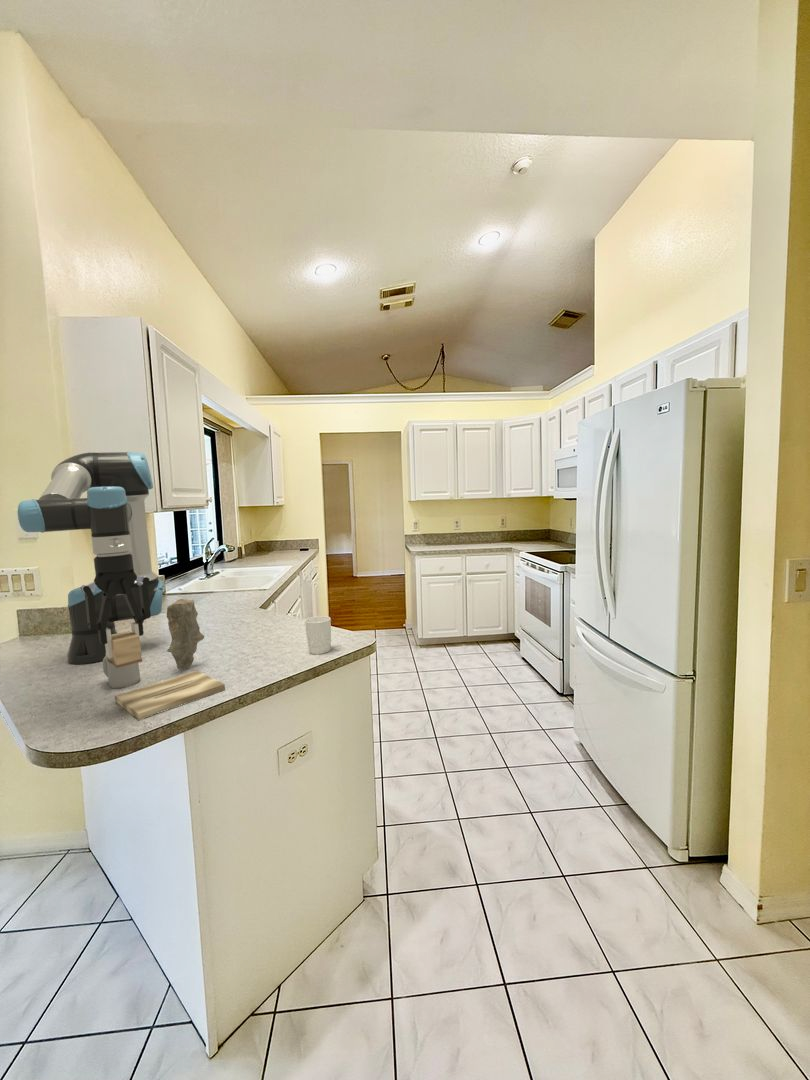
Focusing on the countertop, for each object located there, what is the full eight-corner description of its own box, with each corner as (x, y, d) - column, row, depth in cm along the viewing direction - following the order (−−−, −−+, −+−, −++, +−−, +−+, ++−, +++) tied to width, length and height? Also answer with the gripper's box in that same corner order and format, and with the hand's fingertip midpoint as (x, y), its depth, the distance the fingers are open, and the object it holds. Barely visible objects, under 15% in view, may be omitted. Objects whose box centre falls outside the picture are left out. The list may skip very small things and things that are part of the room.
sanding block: (107, 660, 110) (104, 636, 110) (131, 654, 114) (129, 630, 113) (117, 667, 104) (114, 641, 104) (142, 661, 108) (139, 635, 108)
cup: (125, 689, 122) (121, 656, 121) (94, 687, 124) (90, 654, 124) (146, 678, 129) (143, 647, 128) (116, 676, 131) (113, 646, 131)
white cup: (337, 648, 146) (335, 617, 146) (320, 656, 140) (318, 623, 139) (319, 645, 151) (317, 615, 150) (301, 652, 144) (299, 621, 143)
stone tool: (174, 677, 128) (167, 606, 127) (162, 674, 131) (155, 604, 129) (212, 662, 139) (206, 596, 137) (200, 660, 142) (194, 595, 140)
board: (115, 701, 114) (114, 695, 114) (197, 675, 129) (196, 670, 129) (139, 720, 104) (138, 713, 103) (225, 689, 118) (224, 683, 118)
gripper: (69, 560, 98) (81, 668, 100) (160, 550, 111) (170, 646, 113) (61, 558, 103) (73, 661, 105) (150, 549, 116) (159, 640, 118)
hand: (123, 653), depth 109 cm, fingers closed on sanding block, 5 cm apart
